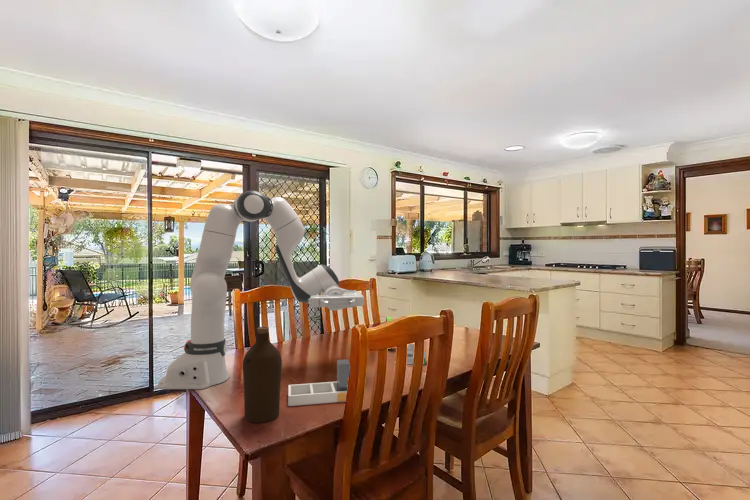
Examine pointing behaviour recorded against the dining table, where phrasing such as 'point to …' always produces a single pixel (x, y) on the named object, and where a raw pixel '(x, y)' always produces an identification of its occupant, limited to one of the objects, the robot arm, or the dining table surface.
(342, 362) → the dark grey metallic block
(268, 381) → the olive oil
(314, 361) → the dining table surface
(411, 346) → the ink box
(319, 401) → the rack
